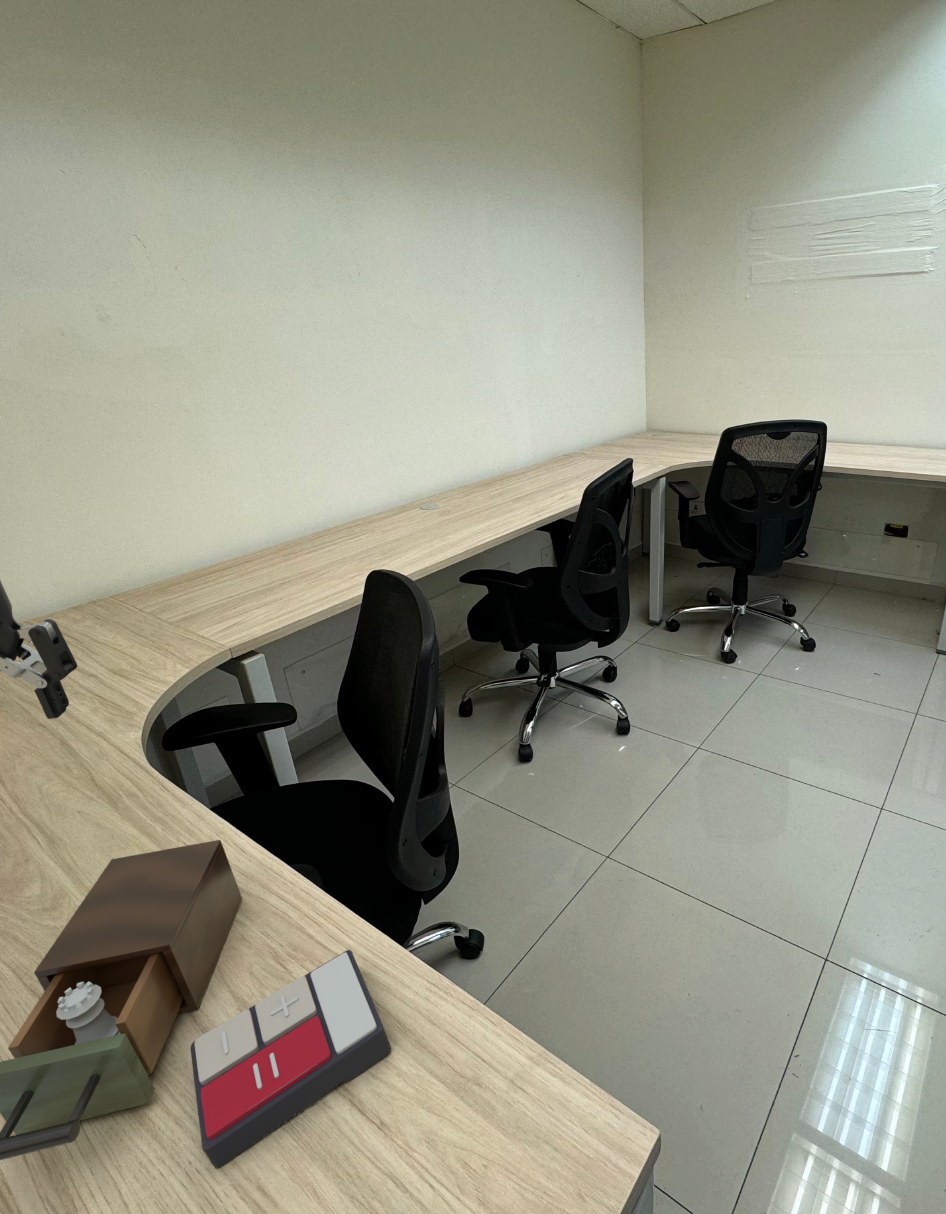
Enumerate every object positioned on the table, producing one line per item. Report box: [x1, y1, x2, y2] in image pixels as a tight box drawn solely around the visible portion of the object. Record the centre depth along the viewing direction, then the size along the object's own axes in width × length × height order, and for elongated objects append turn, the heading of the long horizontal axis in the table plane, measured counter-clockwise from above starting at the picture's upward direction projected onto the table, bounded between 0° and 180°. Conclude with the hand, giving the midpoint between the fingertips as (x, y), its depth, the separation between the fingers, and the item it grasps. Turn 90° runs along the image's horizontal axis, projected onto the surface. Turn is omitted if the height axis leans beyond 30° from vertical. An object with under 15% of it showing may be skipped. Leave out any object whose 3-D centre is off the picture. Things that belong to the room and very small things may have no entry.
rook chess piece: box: [56, 981, 120, 1045], centre depth 57 cm, size 4×4×8 cm
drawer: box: [0, 952, 184, 1161], centre depth 57 cm, size 18×10×8 cm, turn 13°
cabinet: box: [33, 839, 243, 1016], centre depth 68 cm, size 15×12×10 cm
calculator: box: [190, 949, 392, 1169], centre depth 59 cm, size 11×4×15 cm
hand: (12, 721), depth 65 cm, fingers open, 8 cm apart
